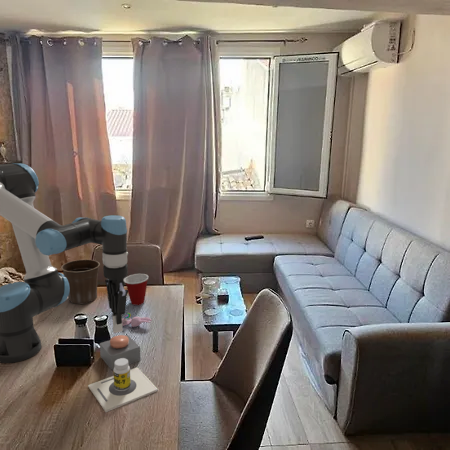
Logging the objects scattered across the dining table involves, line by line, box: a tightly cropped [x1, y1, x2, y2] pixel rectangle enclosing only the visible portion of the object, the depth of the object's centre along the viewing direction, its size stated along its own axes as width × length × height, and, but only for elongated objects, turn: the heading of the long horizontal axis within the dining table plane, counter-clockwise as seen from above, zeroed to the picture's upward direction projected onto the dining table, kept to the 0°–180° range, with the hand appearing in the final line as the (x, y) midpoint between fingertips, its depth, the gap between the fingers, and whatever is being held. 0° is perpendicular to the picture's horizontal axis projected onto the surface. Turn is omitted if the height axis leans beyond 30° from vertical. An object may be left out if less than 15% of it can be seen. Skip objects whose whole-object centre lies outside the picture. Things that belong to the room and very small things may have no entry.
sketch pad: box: [87, 366, 159, 413], centre depth 122 cm, size 16×14×1 cm
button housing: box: [99, 334, 141, 371], centre depth 137 cm, size 10×10×5 cm
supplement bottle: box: [112, 358, 131, 391], centre depth 120 cm, size 5×5×8 cm
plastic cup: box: [123, 273, 149, 306], centre depth 180 cm, size 11×11×12 cm
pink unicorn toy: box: [122, 312, 153, 328], centre depth 160 cm, size 6×6×15 cm
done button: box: [109, 334, 129, 349], centre depth 137 cm, size 6×6×5 cm
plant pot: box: [60, 259, 101, 305], centre depth 183 cm, size 16×16×16 cm
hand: (117, 331), depth 136 cm, fingers closed
